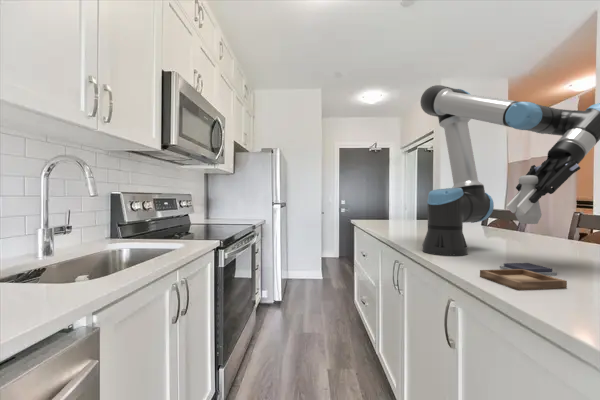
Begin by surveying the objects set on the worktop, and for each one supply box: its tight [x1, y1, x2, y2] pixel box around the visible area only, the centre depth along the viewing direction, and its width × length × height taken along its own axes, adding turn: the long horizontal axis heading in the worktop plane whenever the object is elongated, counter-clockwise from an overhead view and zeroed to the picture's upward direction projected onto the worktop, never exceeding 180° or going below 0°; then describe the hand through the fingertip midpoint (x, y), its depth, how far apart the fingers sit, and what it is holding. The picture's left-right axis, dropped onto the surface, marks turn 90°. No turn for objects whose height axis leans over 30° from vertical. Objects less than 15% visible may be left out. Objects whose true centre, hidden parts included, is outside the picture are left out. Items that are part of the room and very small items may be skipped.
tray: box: [479, 268, 568, 291], centre depth 77 cm, size 12×12×2 cm
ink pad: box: [499, 262, 558, 276], centre depth 88 cm, size 9×9×2 cm
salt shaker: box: [514, 174, 542, 225], centre depth 88 cm, size 6×6×13 cm
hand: (515, 209), depth 88 cm, fingers closed on salt shaker, 3 cm apart
